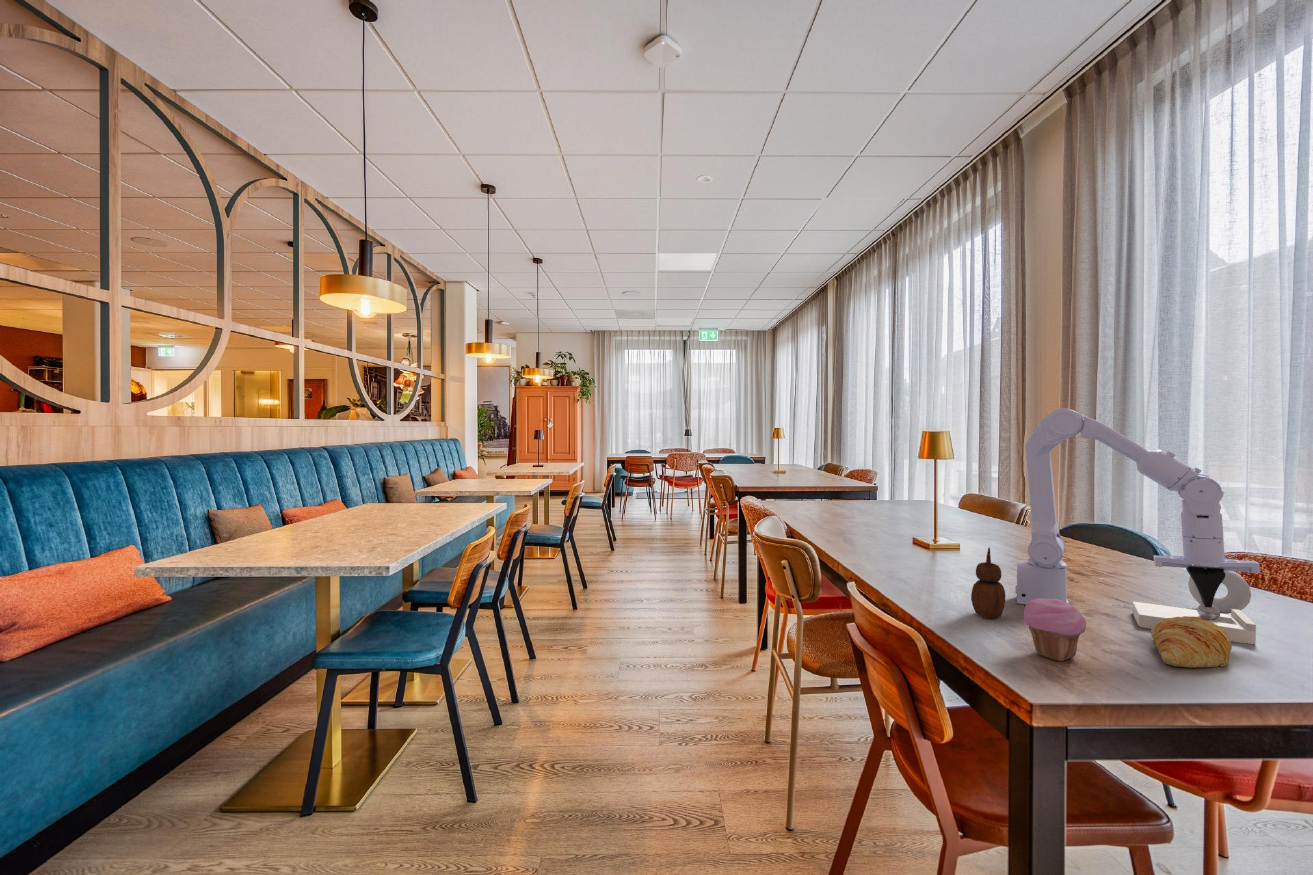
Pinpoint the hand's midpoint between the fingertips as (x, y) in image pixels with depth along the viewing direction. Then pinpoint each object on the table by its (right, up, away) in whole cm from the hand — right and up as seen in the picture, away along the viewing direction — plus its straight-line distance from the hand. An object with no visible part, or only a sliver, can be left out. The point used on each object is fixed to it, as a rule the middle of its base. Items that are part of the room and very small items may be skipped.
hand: (1206, 606), depth 106 cm
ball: (0, -1, 0) cm, 1 cm away
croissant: (-15, -5, -11) cm, 19 cm away
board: (-2, -5, +2) cm, 5 cm away
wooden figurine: (-37, -5, +9) cm, 39 cm away
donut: (+13, -5, +11) cm, 17 cm away
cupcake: (-38, -5, -12) cm, 41 cm away
